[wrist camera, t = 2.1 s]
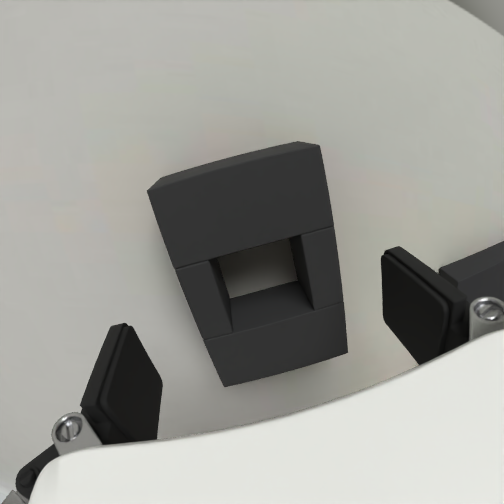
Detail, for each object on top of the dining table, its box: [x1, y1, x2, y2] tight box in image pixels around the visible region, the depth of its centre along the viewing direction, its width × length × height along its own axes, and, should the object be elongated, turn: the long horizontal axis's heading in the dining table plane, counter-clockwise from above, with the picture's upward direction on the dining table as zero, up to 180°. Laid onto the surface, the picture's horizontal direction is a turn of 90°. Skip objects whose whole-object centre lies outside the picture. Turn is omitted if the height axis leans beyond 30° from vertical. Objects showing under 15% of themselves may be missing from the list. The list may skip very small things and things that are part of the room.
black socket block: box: [147, 141, 348, 387], centre depth 14 cm, size 10×6×3 cm, turn 14°
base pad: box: [440, 241, 504, 303], centre depth 18 cm, size 12×8×4 cm, turn 14°
